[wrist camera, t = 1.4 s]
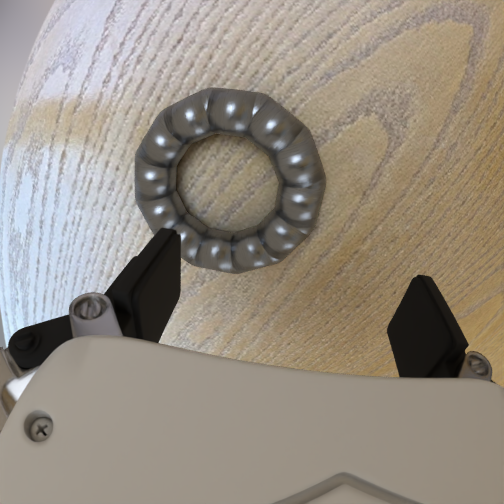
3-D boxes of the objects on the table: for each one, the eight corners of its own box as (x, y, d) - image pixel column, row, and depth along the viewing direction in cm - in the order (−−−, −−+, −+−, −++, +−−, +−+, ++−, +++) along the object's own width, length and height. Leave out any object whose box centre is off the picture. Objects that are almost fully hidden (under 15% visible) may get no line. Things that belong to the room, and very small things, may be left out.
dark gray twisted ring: (150, 84, 16) (130, 85, 14) (338, 107, 16) (346, 110, 14) (147, 242, 23) (131, 261, 20) (299, 271, 22) (299, 294, 20)
